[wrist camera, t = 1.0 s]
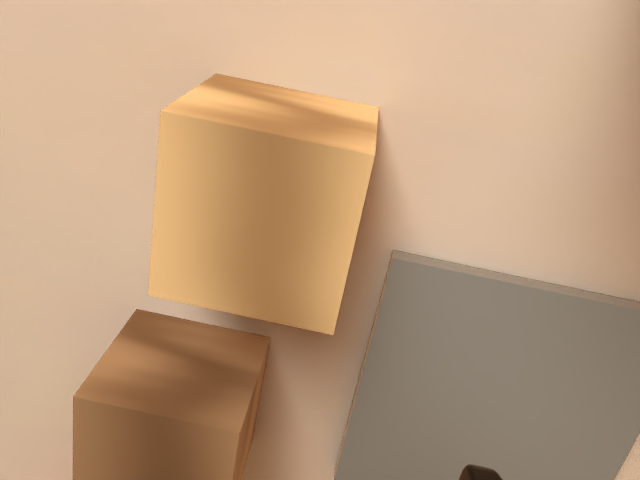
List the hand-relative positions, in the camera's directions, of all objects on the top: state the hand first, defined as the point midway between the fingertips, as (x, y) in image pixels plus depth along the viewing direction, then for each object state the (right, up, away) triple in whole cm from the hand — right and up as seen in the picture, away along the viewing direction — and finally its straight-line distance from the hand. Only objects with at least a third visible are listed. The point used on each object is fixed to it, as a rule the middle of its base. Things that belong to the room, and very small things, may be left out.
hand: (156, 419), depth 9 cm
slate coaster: (+9, -3, +13) cm, 16 cm away
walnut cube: (-2, -3, +14) cm, 15 cm away
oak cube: (+1, +5, +11) cm, 12 cm away
